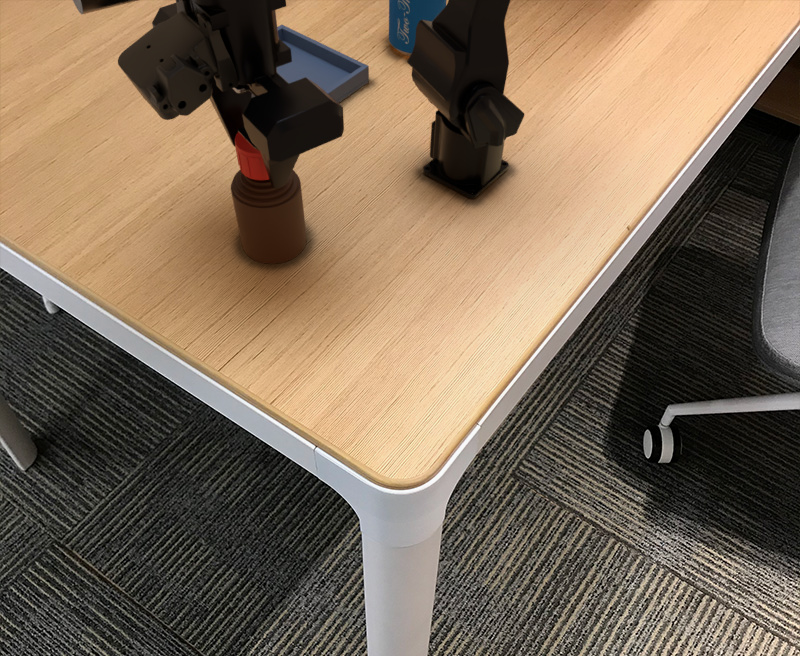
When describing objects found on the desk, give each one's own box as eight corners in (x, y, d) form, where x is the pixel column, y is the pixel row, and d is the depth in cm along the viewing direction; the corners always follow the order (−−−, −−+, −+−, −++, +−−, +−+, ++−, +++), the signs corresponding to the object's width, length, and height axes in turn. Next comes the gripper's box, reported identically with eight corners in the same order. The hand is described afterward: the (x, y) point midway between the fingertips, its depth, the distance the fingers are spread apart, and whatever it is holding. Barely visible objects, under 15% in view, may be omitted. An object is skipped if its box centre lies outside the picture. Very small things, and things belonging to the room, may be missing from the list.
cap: (279, 183, 63) (275, 156, 61) (233, 177, 64) (228, 150, 61) (290, 154, 65) (287, 126, 63) (247, 148, 66) (242, 121, 64)
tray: (369, 82, 86) (368, 65, 85) (301, 129, 81) (299, 112, 80) (283, 40, 91) (281, 24, 89) (214, 82, 86) (211, 65, 84)
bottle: (319, 237, 72) (311, 143, 63) (275, 273, 69) (260, 180, 61) (273, 210, 74) (259, 115, 65) (228, 244, 71) (207, 149, 63)
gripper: (58, -51, 53) (121, 142, 66) (183, 79, 44) (227, 270, 57) (203, -91, 57) (236, 98, 70) (343, 21, 48) (351, 213, 61)
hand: (258, 165), depth 64 cm, fingers open, 6 cm apart
